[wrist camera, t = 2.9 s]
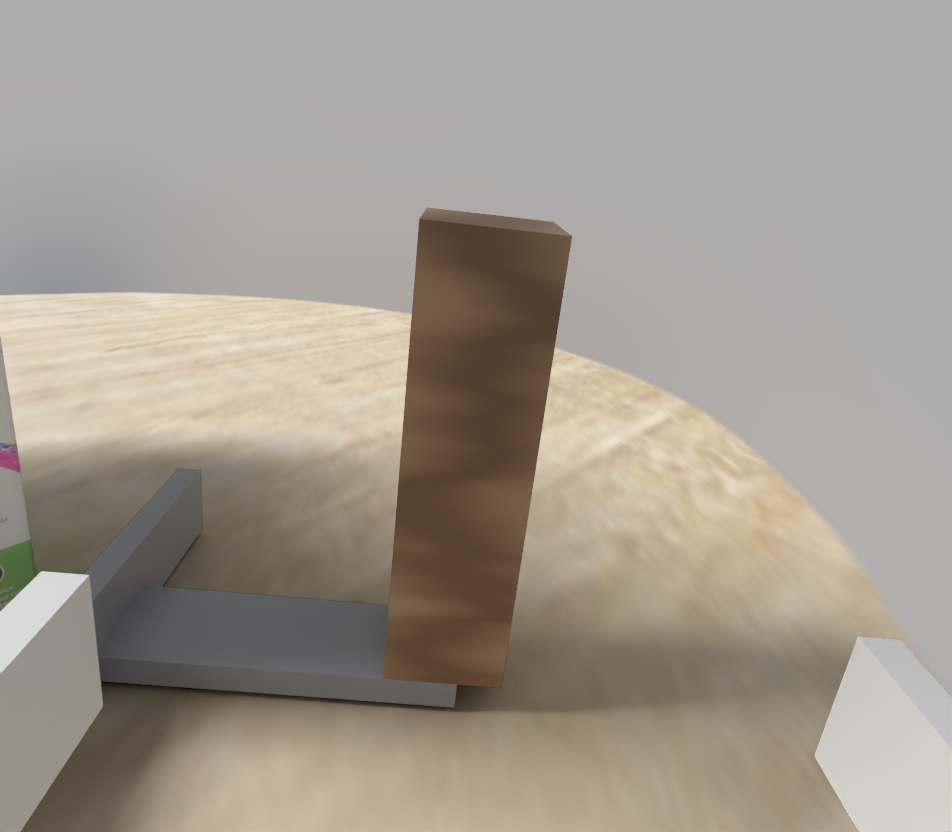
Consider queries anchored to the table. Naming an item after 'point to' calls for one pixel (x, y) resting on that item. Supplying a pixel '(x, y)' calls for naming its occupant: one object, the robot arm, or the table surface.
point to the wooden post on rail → (417, 516)
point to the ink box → (12, 507)
